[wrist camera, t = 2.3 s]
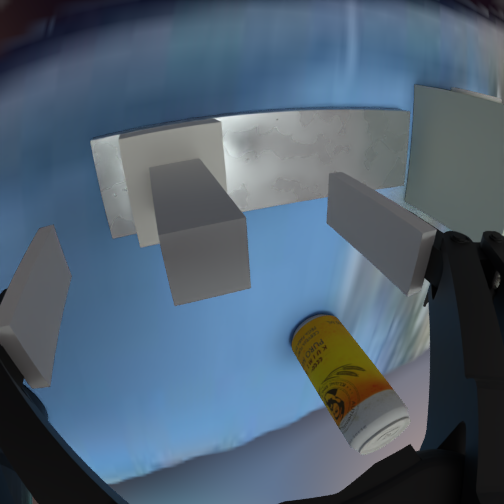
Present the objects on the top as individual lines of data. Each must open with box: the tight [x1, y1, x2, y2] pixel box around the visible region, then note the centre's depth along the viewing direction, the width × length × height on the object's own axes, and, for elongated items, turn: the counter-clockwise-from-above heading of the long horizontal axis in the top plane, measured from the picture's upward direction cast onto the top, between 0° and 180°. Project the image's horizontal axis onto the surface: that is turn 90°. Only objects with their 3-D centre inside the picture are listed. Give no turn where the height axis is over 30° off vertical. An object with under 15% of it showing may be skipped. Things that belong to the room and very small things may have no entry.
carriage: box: [118, 119, 251, 306], centre depth 16 cm, size 6×7×11 cm
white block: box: [405, 85, 504, 242], centre depth 23 cm, size 7×12×12 cm, turn 3°
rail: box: [90, 107, 410, 239], centre depth 23 cm, size 25×7×2 cm, turn 93°
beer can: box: [292, 314, 411, 455], centre depth 29 cm, size 6×6×15 cm
